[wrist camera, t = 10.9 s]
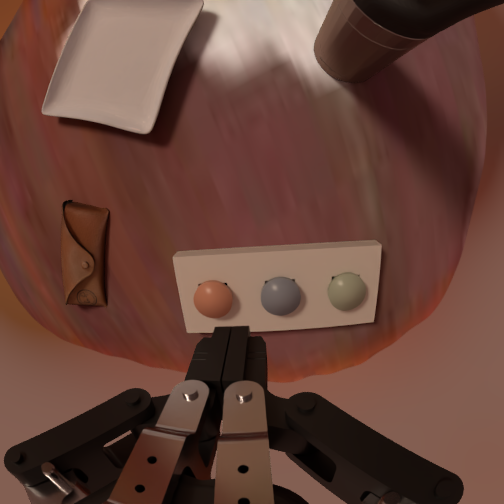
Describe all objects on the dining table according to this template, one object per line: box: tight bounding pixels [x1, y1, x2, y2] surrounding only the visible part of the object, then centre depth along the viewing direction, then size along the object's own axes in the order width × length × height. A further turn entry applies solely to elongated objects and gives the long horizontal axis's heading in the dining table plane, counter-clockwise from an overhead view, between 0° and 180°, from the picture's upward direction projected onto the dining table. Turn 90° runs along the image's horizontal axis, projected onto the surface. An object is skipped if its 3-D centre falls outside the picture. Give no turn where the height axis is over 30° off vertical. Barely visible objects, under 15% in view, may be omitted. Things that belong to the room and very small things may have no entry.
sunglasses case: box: [61, 200, 109, 307], centre depth 40 cm, size 18×7×7 cm
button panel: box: [173, 240, 382, 333], centre depth 40 cm, size 28×12×2 cm, turn 94°
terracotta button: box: [193, 280, 233, 318], centre depth 39 cm, size 5×5×4 cm
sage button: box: [327, 272, 366, 311], centre depth 38 cm, size 5×5×4 cm
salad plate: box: [42, 0, 204, 134], centre depth 30 cm, size 21×21×3 cm
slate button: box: [261, 277, 301, 316], centre depth 39 cm, size 5×5×4 cm
